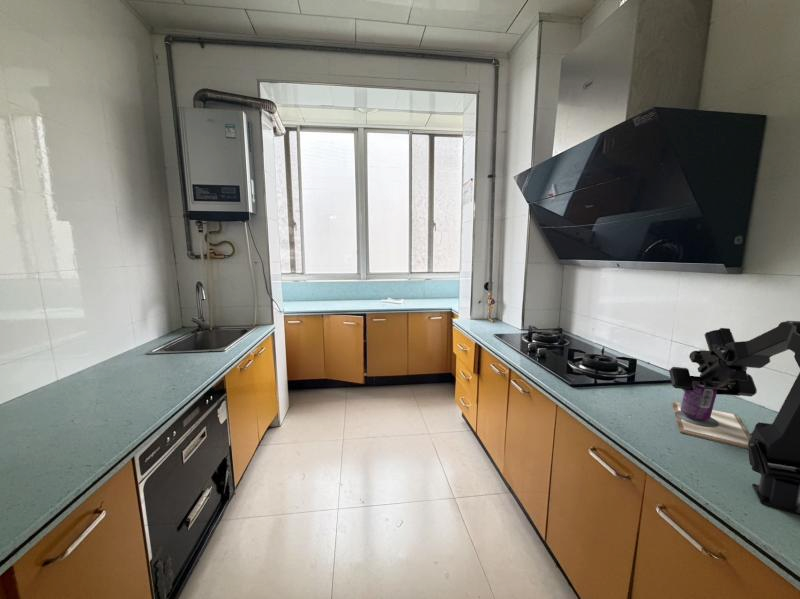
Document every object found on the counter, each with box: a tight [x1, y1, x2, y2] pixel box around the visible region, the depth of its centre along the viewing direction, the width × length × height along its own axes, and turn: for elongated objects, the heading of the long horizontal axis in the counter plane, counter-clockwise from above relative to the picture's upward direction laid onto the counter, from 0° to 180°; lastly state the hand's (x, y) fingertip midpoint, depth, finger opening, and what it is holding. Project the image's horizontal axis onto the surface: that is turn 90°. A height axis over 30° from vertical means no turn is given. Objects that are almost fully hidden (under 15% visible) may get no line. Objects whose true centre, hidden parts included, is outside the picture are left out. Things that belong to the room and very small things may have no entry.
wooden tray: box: [671, 401, 752, 450], centre depth 100 cm, size 22×16×1 cm
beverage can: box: [681, 385, 717, 420], centre depth 101 cm, size 7×7×12 cm
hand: (697, 391), depth 102 cm, fingers closed on beverage can, 7 cm apart
